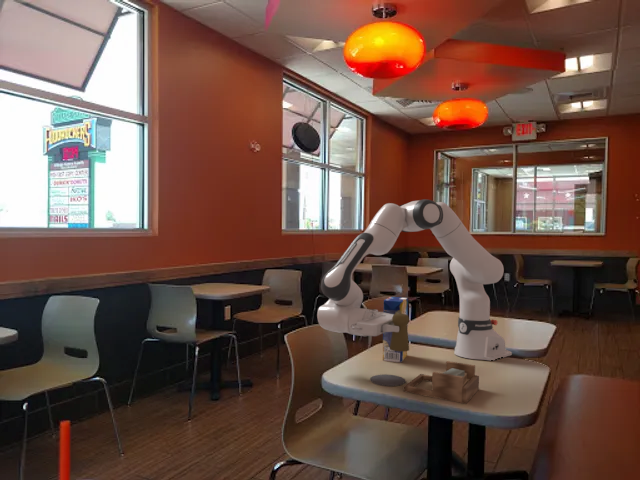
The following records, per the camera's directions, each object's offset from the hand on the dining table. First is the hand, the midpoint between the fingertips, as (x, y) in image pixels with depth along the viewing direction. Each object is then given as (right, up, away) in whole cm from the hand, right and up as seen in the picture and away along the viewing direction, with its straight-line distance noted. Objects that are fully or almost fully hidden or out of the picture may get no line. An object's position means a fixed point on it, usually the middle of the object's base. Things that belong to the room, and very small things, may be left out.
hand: (402, 327), depth 151 cm
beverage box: (+2, -17, +31) cm, 35 cm away
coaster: (-4, -17, +3) cm, 18 cm away
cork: (-1, -7, +1) cm, 7 cm away
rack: (+11, -18, -5) cm, 21 cm away
